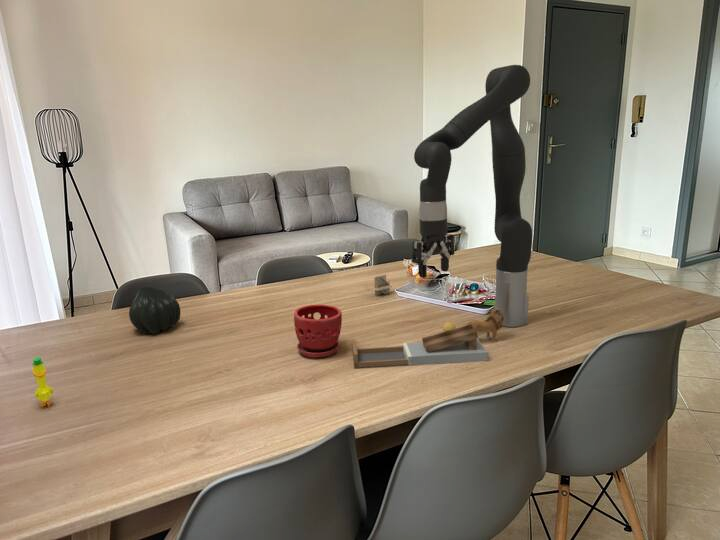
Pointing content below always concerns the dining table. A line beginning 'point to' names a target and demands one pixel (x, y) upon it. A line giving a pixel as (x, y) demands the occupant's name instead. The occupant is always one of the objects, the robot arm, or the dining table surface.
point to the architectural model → (381, 285)
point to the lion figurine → (489, 323)
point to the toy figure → (41, 382)
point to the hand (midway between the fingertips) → (433, 274)
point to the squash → (154, 310)
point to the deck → (443, 354)
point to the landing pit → (378, 357)
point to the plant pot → (317, 330)
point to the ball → (448, 326)
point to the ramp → (452, 339)
